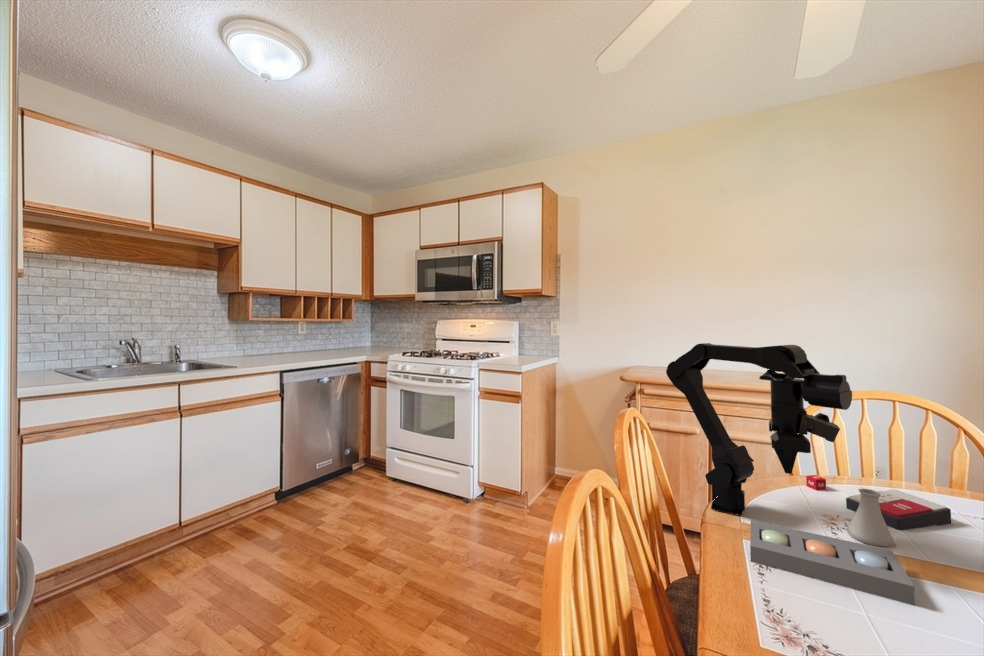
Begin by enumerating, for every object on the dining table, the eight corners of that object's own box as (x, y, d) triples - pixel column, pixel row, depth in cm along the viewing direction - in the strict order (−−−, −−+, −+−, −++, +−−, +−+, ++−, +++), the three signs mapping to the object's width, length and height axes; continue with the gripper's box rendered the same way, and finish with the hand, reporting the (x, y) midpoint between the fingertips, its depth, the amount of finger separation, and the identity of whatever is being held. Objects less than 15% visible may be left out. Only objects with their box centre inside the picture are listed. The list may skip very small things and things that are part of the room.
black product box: (844, 494, 96) (893, 486, 98) (845, 512, 96) (894, 503, 98) (898, 515, 85) (951, 505, 87) (899, 535, 85) (952, 524, 87)
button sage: (762, 553, 77) (761, 537, 77) (761, 543, 80) (761, 527, 80) (788, 559, 74) (788, 543, 74) (787, 549, 78) (786, 533, 78)
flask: (905, 549, 78) (904, 500, 78) (862, 546, 79) (861, 497, 79) (877, 531, 85) (876, 485, 85) (838, 528, 86) (838, 483, 86)
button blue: (857, 577, 69) (857, 559, 69) (852, 565, 72) (852, 548, 72) (891, 585, 66) (890, 567, 66) (884, 572, 70) (883, 555, 70)
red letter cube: (816, 490, 106) (815, 479, 106) (806, 486, 109) (806, 475, 109) (826, 490, 106) (826, 479, 106) (816, 485, 109) (816, 475, 109)
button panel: (750, 561, 75) (750, 545, 75) (750, 533, 84) (750, 519, 84) (914, 605, 62) (914, 586, 62) (892, 566, 72) (892, 550, 72)
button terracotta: (807, 564, 73) (807, 547, 73) (805, 553, 76) (804, 537, 76) (837, 572, 70) (836, 554, 70) (833, 560, 74) (832, 543, 74)
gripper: (844, 414, 73) (846, 497, 72) (828, 398, 88) (829, 467, 88) (771, 408, 79) (772, 484, 79) (768, 394, 94) (769, 458, 94)
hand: (788, 473), depth 85 cm, fingers closed
